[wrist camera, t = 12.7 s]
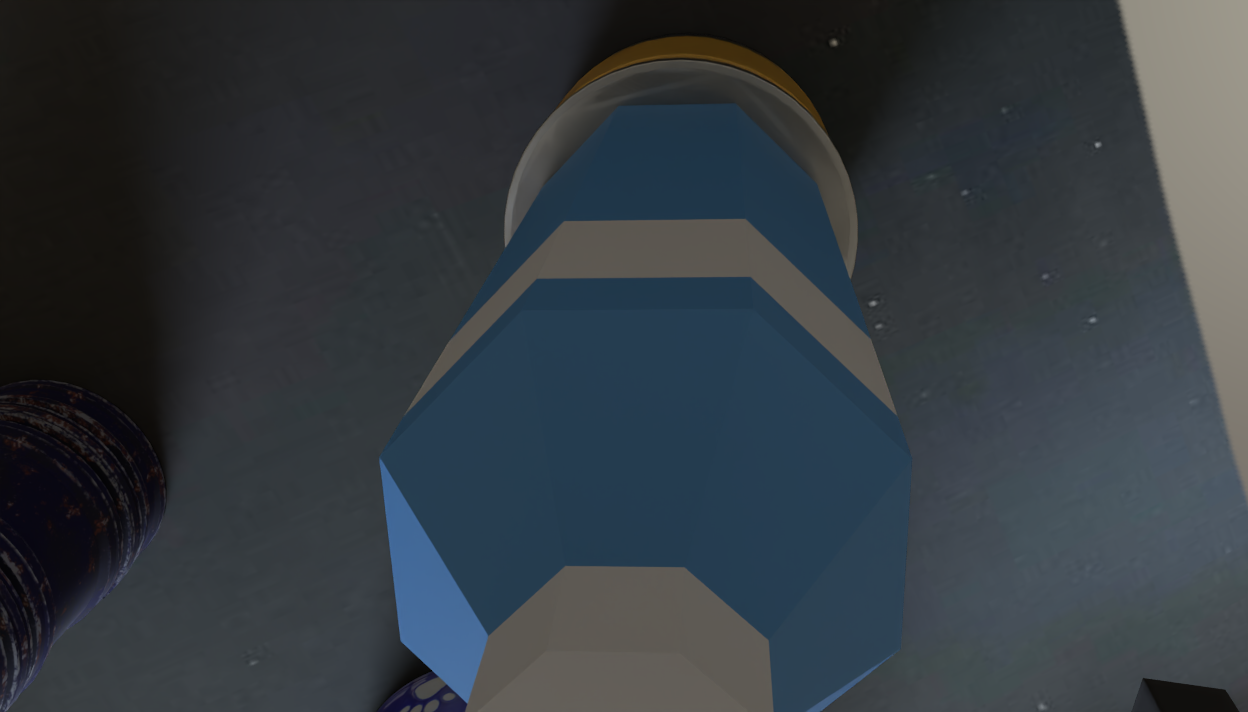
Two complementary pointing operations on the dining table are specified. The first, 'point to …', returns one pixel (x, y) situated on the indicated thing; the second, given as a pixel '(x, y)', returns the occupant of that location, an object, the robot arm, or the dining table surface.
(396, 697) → the dog bowl
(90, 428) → the storage jar
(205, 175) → the dining table surface
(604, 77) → the tin
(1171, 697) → the robot arm
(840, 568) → the water bottle
